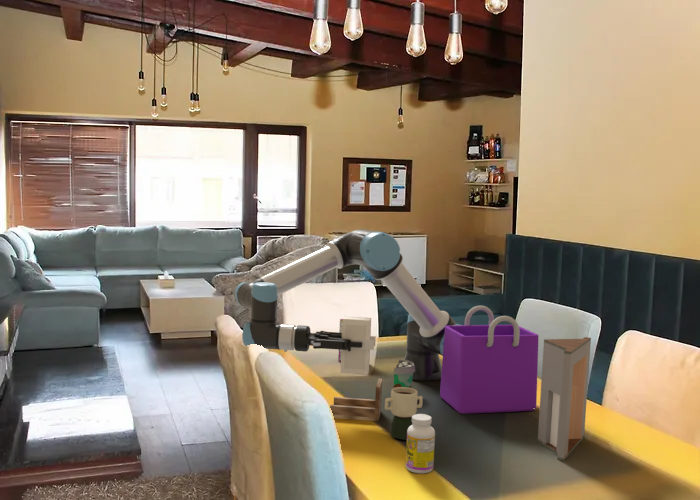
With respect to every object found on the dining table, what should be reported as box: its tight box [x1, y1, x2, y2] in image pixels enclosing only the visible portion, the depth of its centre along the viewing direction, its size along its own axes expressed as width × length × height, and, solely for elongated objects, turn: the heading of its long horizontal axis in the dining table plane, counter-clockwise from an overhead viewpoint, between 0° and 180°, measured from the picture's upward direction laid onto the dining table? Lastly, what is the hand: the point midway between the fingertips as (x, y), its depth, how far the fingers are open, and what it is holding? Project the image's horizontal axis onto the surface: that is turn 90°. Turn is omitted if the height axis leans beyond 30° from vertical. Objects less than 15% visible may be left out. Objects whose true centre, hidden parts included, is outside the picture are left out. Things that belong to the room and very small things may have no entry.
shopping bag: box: [439, 305, 539, 415], centre depth 218 cm, size 28×22×30 cm
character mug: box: [384, 387, 424, 441], centre depth 187 cm, size 11×7×13 cm, turn 108°
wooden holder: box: [329, 378, 383, 422], centre depth 205 cm, size 14×9×10 cm, turn 83°
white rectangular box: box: [339, 315, 372, 376], centre depth 204 cm, size 8×4×16 cm, turn 83°
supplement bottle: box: [405, 413, 436, 475], centre depth 167 cm, size 7×7×13 cm
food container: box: [393, 358, 415, 388], centre depth 227 cm, size 12×6×10 cm, turn 168°
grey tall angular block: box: [537, 336, 592, 462], centre depth 186 cm, size 21×10×28 cm, turn 148°
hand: (374, 343), depth 203 cm, fingers closed on white rectangular box, 4 cm apart
